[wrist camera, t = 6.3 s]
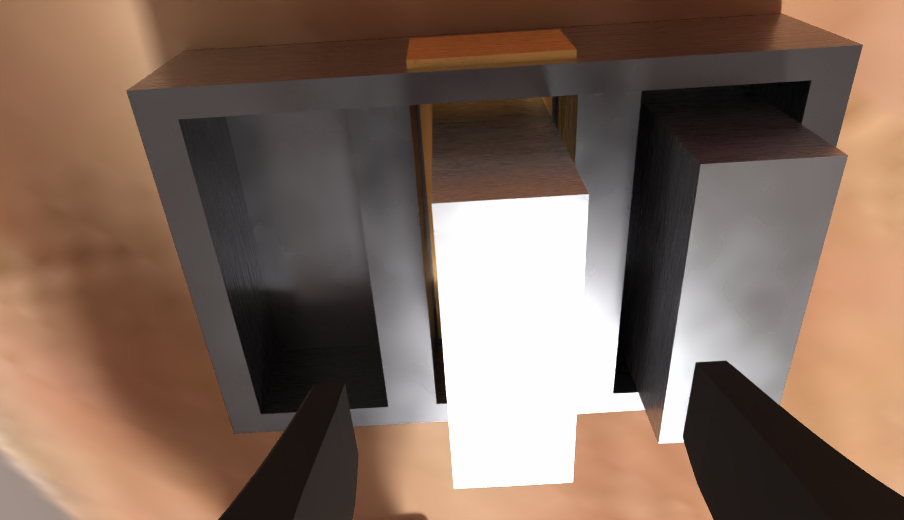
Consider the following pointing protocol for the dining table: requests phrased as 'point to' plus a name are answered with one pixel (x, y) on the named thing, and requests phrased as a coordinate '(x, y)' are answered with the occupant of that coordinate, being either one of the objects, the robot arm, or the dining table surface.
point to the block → (508, 289)
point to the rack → (411, 221)
